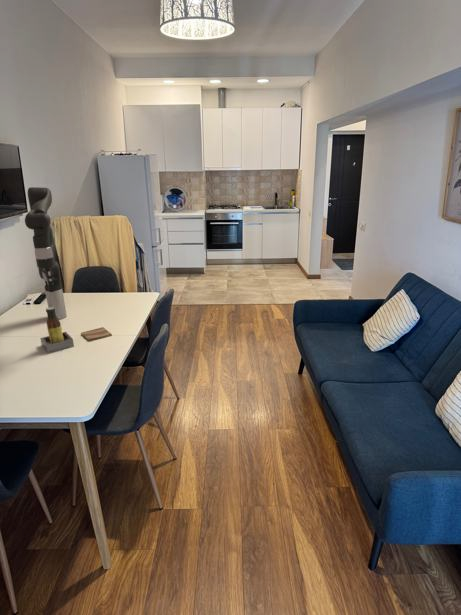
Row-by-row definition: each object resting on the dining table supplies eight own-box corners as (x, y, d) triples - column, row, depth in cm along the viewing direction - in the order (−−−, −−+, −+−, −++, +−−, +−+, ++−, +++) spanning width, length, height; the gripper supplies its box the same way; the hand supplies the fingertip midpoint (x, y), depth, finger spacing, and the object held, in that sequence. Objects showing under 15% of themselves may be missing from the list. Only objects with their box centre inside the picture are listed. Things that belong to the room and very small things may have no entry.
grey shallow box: (41, 345, 206) (40, 338, 204) (67, 338, 213) (65, 331, 211) (47, 353, 197) (46, 345, 196) (73, 346, 204) (72, 338, 203)
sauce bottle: (67, 344, 207) (61, 306, 200) (58, 349, 201) (52, 311, 194) (56, 342, 209) (50, 305, 202) (47, 347, 203) (40, 309, 196)
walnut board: (81, 334, 218) (81, 332, 218) (103, 328, 225) (103, 327, 224) (89, 341, 209) (88, 339, 209) (111, 335, 216) (111, 333, 215)
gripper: (33, 255, 197) (39, 288, 202) (38, 260, 185) (44, 294, 190) (50, 253, 201) (55, 285, 206) (55, 258, 189) (61, 291, 194)
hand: (50, 290), depth 198 cm, fingers open, 8 cm apart
